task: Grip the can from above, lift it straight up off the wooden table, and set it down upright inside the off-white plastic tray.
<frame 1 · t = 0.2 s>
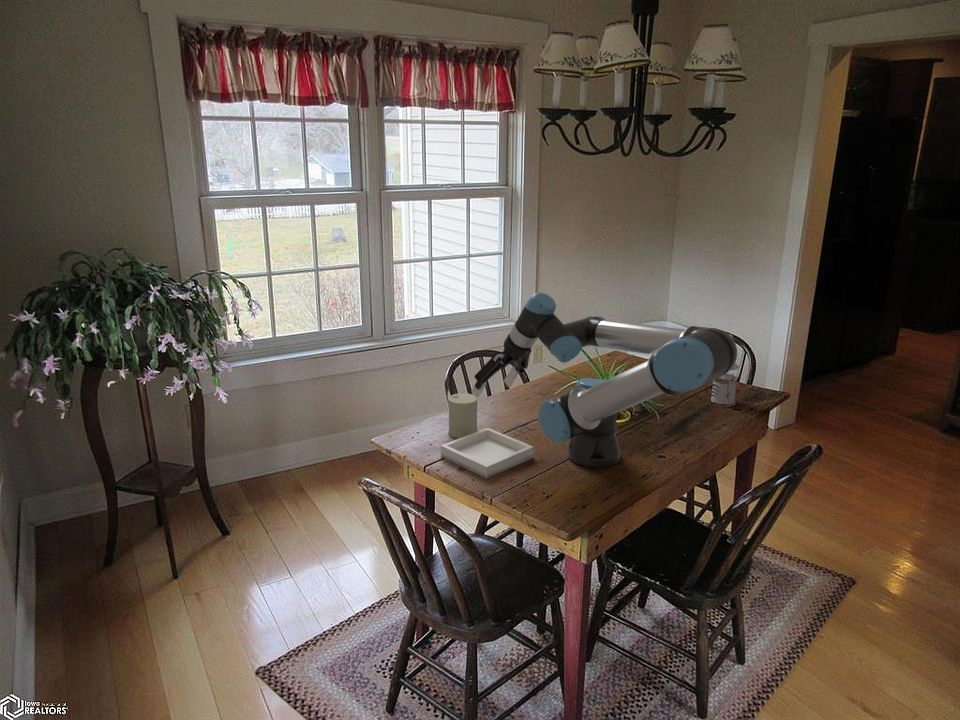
hand: (491, 389, 206), 16 cm above the table, tool tilted 35°, fingers open, 13 cm apart
can: (463, 432, 217), on the table
french press: (723, 403, 242), on the table
tray: (486, 457, 200), on the table
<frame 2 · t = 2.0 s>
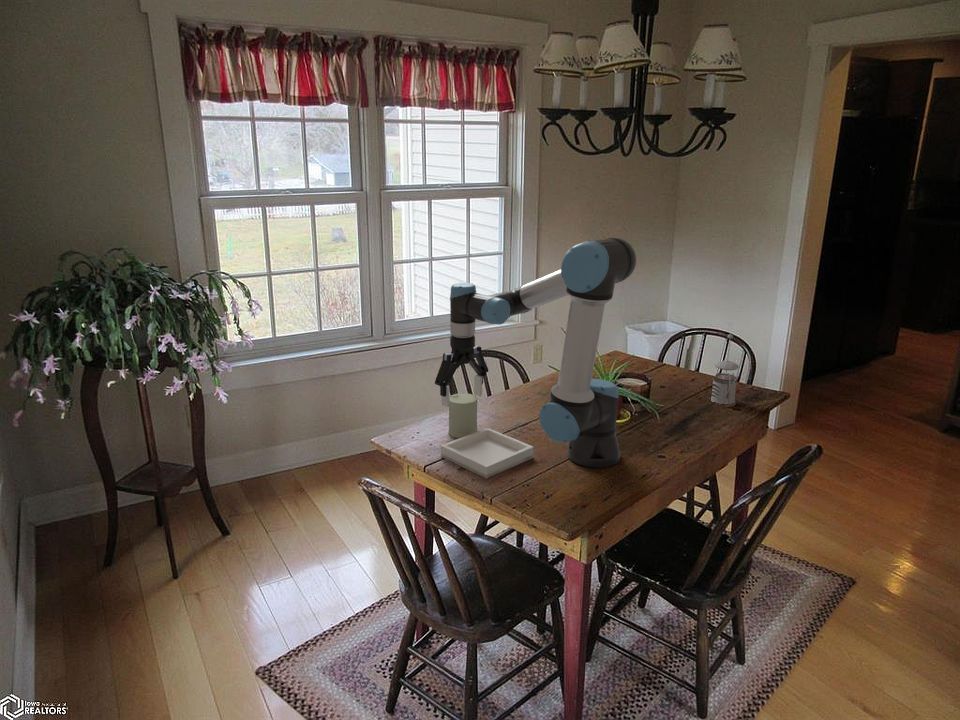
hand: (462, 400, 214), 11 cm above the table, tool pointing down, fingers open, 13 cm apart
nothing on the table moved.
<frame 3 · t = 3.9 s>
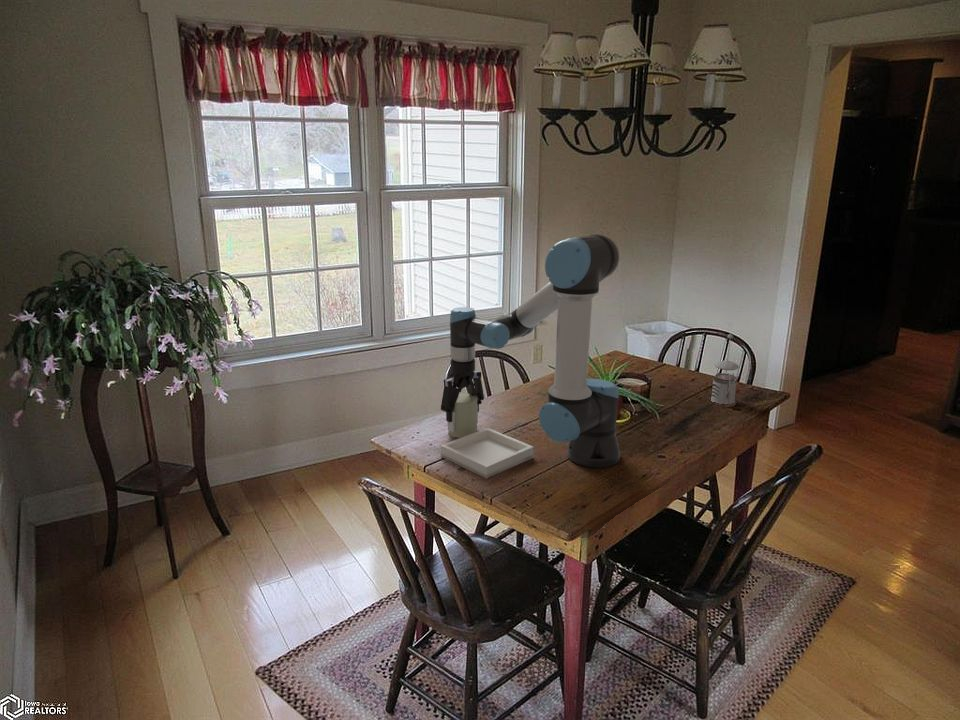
hand: (462, 426, 216), 2 cm above the table, tool pointing down, fingers closed on can, 9 cm apart
can: (462, 432, 217), on the table, touching gripper
everything else where it was.
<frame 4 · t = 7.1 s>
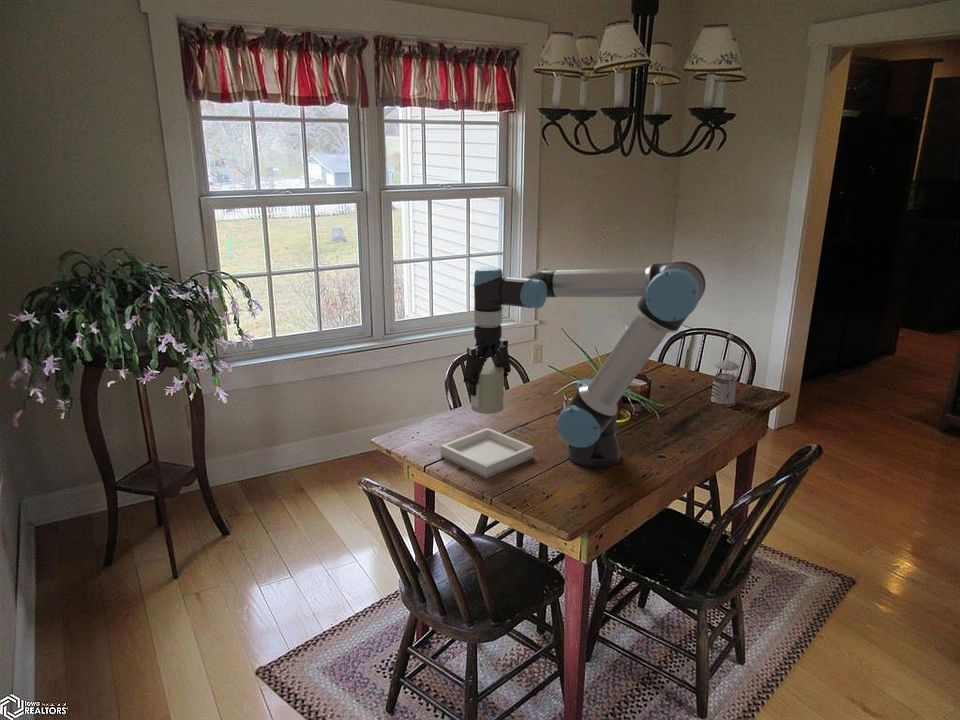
hand: (487, 401, 194), 17 cm above the table, tool pointing down, fingers closed on can, 9 cm apart
can: (487, 408, 195), point 15 cm above the table, touching gripper
everything else where it was.
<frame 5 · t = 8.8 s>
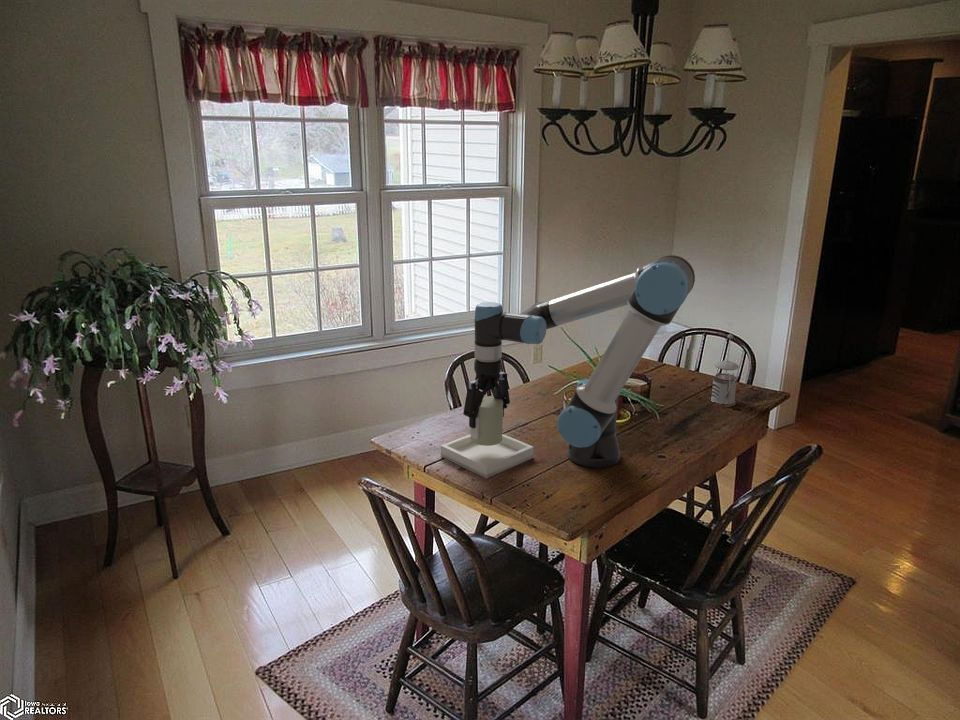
hand: (486, 432, 197), 8 cm above the table, tool pointing down, fingers closed on can, 9 cm apart
can: (486, 439, 198), point 5 cm above the table, touching gripper
everything else where it was.
when the fingers open (4 cm above the table, at t = 10.4 s): can drops 1 cm, resting on tray.
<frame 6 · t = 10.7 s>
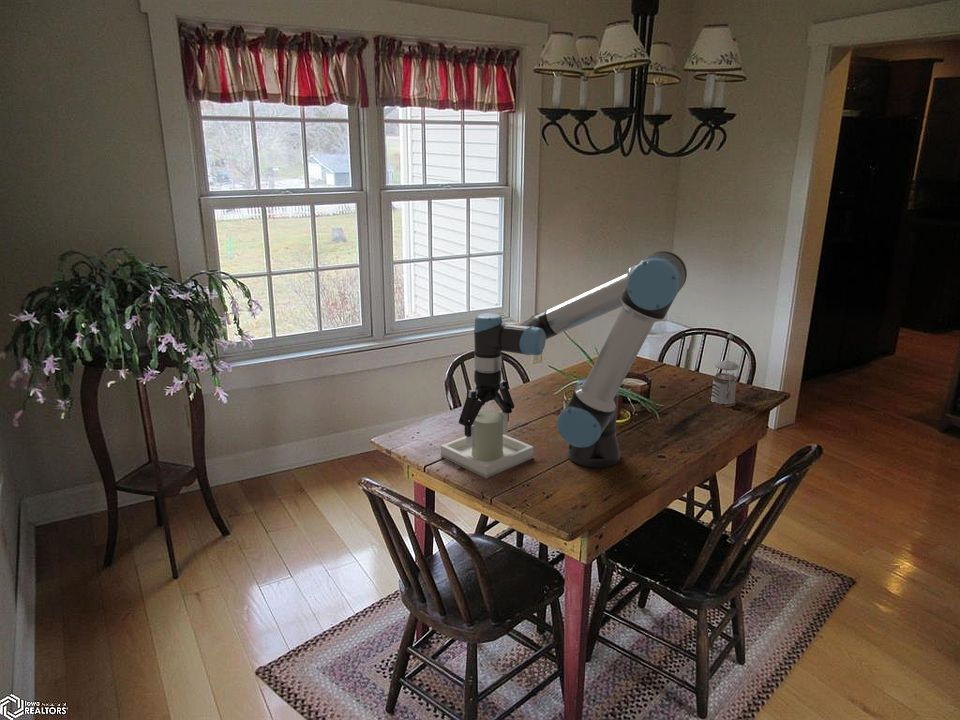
hand: (487, 439, 198), 6 cm above the table, tool pointing down, fingers open, 13 cm apart
can: (487, 454, 199), point 1 cm above the table, touching tray
everything else where it was.
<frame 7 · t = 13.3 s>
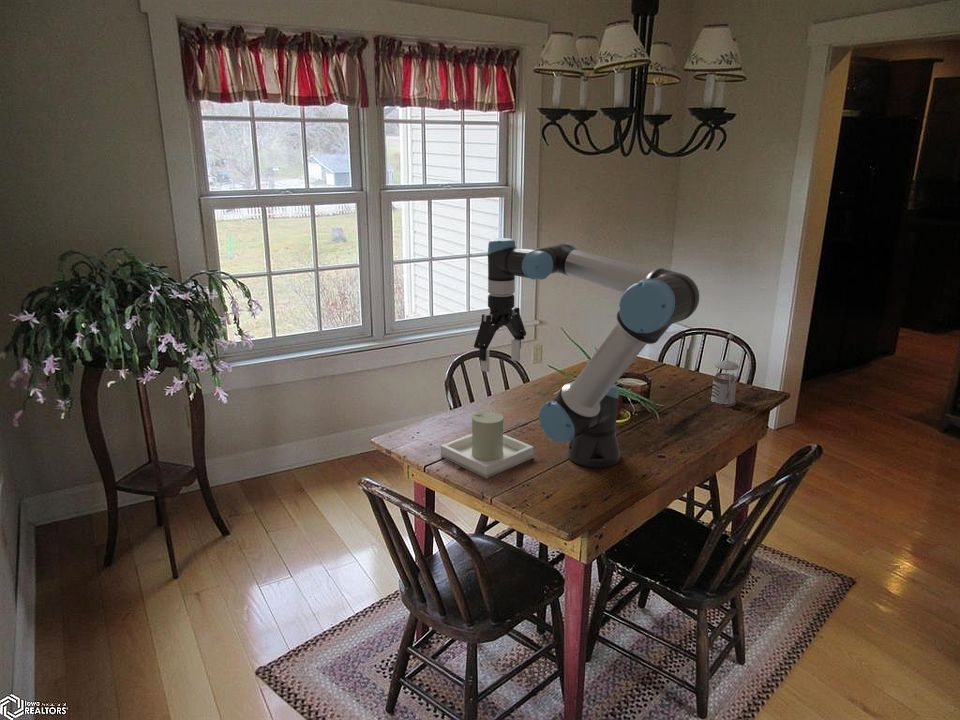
hand: (500, 365, 200), 25 cm above the table, tool pointing down, fingers open, 13 cm apart
nothing on the table moved.
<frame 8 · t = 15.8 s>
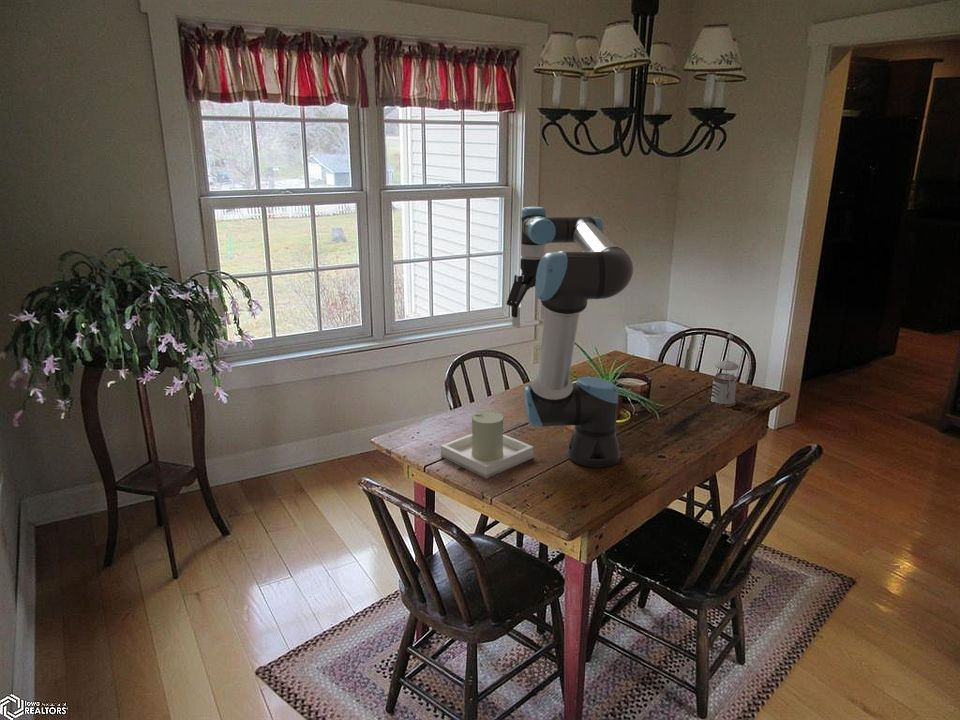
hand: (530, 323, 221), 32 cm above the table, tool pointing down, fingers open, 13 cm apart
nothing on the table moved.
at the end: can inside the target area on the tray (0.1 cm from its centre), point 0.8 cm above the tray's base; can tilted 0°; the gripper is holding nothing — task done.
